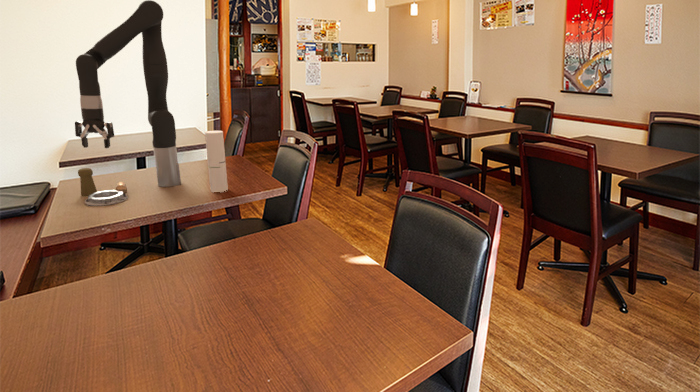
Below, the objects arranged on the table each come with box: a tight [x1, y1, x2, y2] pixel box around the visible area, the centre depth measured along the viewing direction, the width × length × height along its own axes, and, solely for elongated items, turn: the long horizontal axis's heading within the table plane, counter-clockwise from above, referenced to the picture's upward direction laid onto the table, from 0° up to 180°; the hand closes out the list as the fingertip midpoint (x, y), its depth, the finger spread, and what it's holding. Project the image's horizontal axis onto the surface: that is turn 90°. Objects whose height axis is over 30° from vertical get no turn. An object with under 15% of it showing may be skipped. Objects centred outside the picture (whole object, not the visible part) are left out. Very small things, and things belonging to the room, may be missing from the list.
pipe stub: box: [115, 181, 128, 195], centre depth 181 cm, size 8×4×4 cm, turn 28°
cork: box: [77, 167, 98, 198], centre depth 178 cm, size 6×6×11 cm
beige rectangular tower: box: [204, 130, 229, 193], centre depth 182 cm, size 7×7×25 cm
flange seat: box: [84, 189, 129, 207], centre depth 172 cm, size 15×15×2 cm
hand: (96, 147), depth 177 cm, fingers open, 8 cm apart
